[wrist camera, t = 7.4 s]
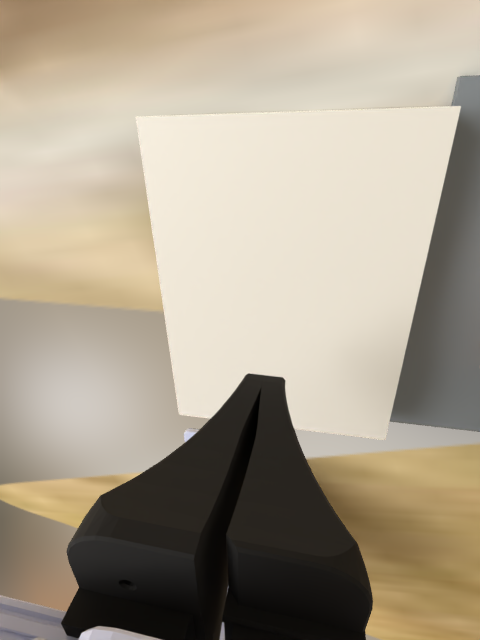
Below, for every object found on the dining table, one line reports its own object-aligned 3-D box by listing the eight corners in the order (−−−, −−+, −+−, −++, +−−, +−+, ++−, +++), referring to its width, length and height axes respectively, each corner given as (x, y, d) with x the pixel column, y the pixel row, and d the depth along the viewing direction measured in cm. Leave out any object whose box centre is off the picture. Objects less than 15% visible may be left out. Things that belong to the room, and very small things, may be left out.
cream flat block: (378, 403, 23) (385, 440, 20) (193, 383, 25) (178, 414, 23) (438, 107, 15) (461, 105, 13) (163, 115, 17) (135, 116, 15)
